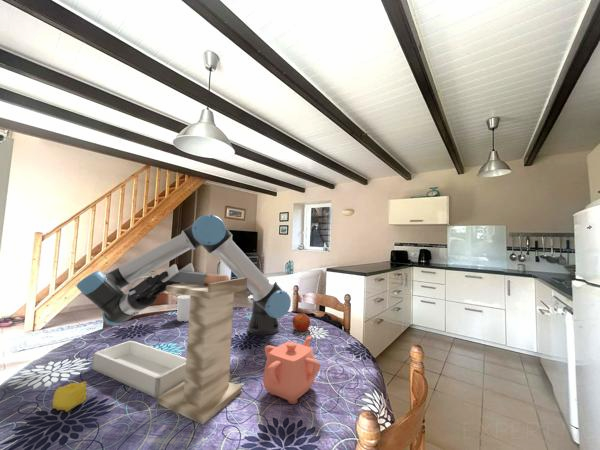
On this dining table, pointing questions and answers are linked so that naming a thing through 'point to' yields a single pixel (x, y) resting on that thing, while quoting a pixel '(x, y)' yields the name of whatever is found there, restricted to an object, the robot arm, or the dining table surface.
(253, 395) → the dining table surface
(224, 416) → the dining table surface
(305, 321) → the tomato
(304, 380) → the teapot
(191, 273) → the grey long square-ended piece
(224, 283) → the wooden pedestal stand
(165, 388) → the tray
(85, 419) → the dining table surface
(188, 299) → the candle holder
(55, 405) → the toy block
